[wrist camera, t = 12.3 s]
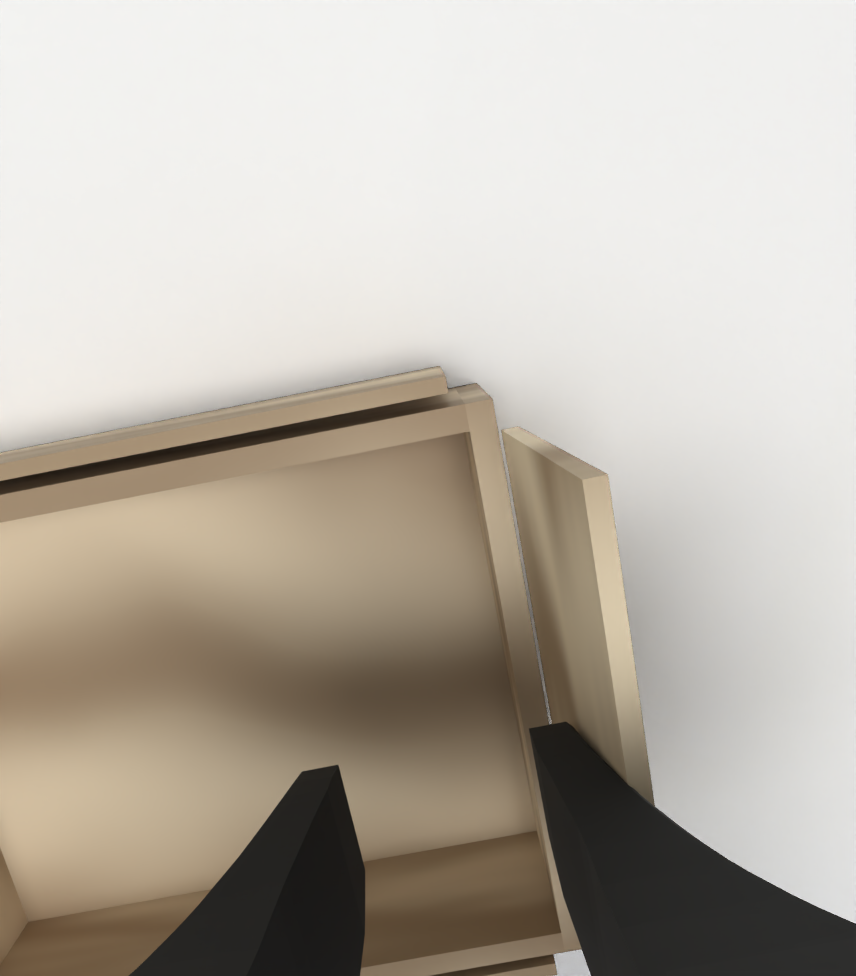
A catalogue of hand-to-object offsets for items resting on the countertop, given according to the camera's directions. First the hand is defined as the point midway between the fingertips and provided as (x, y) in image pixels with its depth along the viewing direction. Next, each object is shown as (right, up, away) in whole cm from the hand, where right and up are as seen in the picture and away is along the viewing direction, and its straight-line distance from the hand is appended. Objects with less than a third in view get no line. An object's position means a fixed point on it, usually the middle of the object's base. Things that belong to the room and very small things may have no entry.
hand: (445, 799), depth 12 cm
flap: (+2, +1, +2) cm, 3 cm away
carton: (-5, 0, +6) cm, 8 cm away
